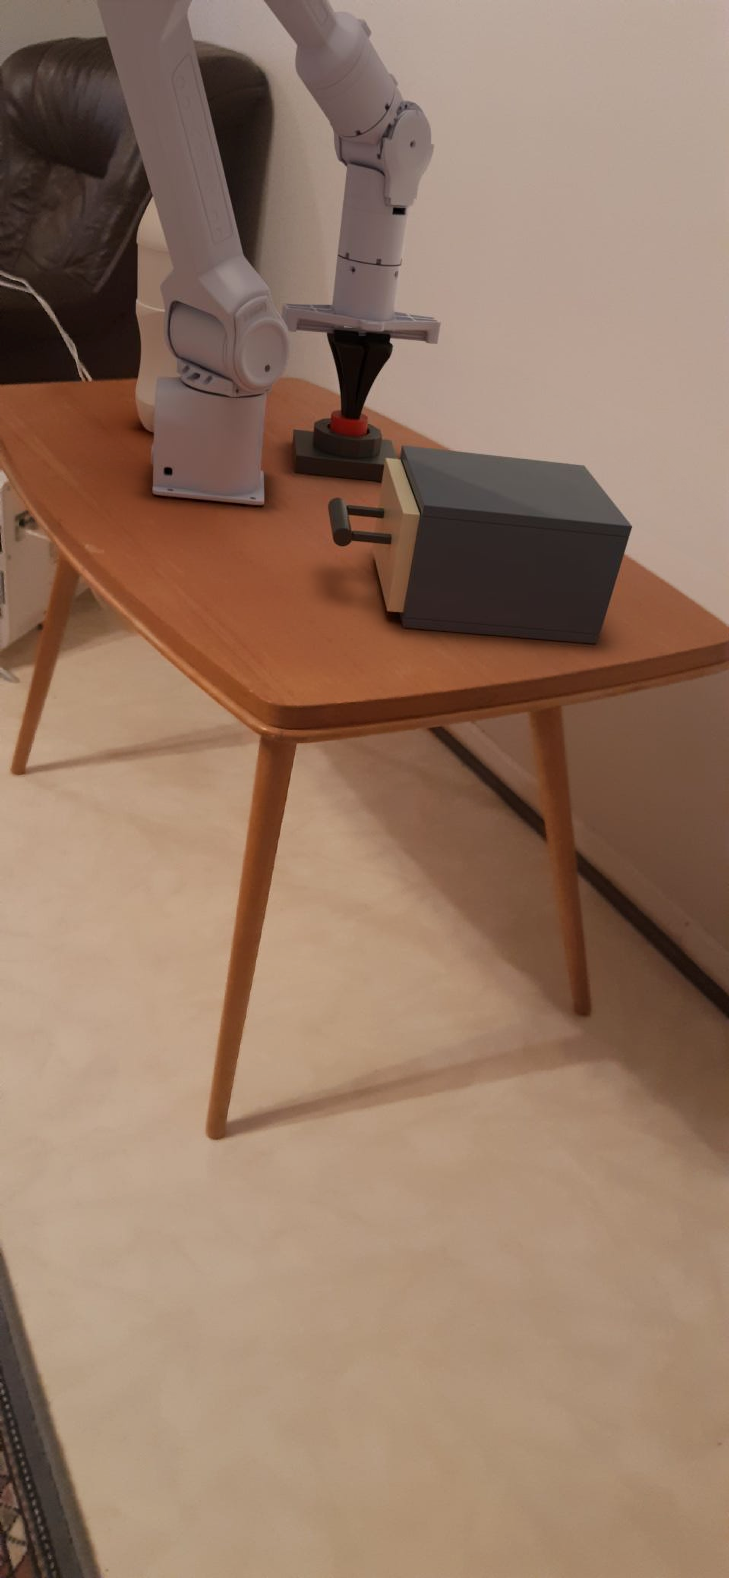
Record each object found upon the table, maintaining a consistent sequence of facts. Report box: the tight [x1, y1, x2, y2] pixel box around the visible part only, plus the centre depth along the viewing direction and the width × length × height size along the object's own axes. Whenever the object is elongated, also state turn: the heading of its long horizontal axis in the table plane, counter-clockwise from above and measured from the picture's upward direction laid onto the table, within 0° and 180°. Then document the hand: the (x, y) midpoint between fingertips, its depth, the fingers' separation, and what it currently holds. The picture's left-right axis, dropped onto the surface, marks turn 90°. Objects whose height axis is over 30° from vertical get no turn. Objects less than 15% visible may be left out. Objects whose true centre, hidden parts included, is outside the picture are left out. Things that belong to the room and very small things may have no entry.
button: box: [330, 409, 369, 436], centre depth 99 cm, size 4×4×2 cm
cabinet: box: [398, 444, 633, 645], centre depth 77 cm, size 15×13×9 cm
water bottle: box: [134, 196, 181, 434], centre depth 95 cm, size 7×7×25 cm
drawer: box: [327, 458, 421, 613], centre depth 76 cm, size 18×11×7 cm, turn 95°
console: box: [291, 417, 399, 483], centre depth 100 cm, size 10×8×4 cm
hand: (350, 416), depth 98 cm, fingers closed, pressing on button
